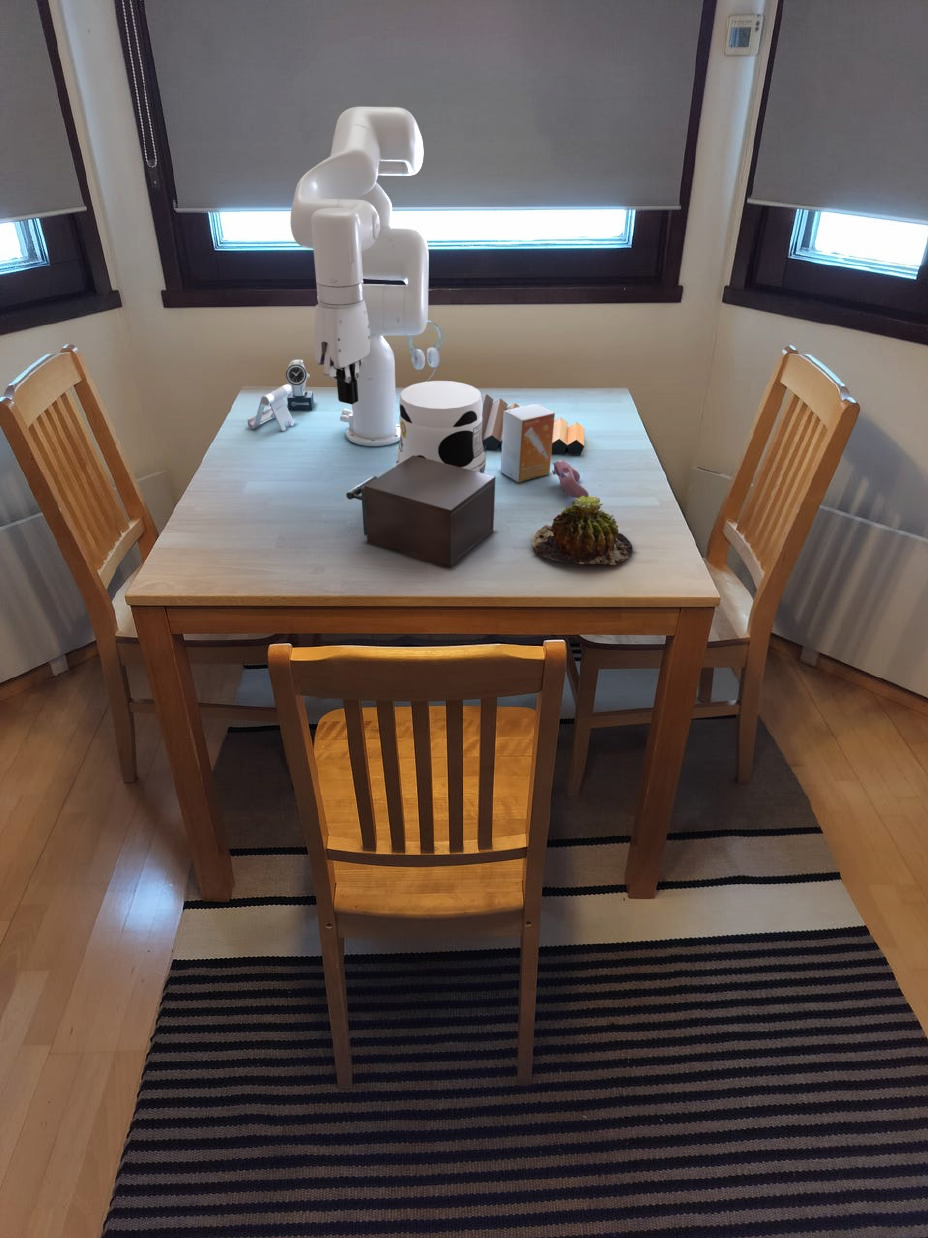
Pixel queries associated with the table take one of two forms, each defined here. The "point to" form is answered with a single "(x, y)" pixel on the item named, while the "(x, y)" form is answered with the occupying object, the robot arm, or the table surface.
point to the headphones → (432, 353)
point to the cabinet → (430, 510)
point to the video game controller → (569, 479)
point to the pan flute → (495, 411)
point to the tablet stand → (273, 409)
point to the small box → (527, 442)
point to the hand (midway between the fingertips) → (348, 401)
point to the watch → (298, 387)
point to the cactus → (583, 536)
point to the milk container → (442, 424)
